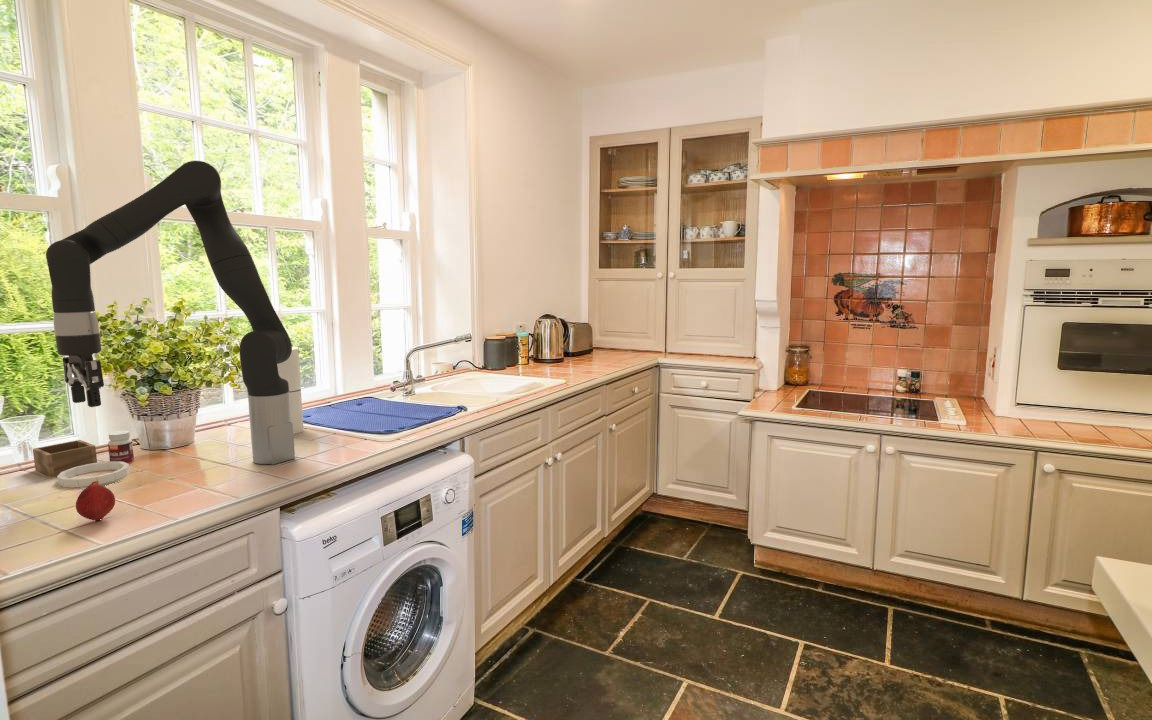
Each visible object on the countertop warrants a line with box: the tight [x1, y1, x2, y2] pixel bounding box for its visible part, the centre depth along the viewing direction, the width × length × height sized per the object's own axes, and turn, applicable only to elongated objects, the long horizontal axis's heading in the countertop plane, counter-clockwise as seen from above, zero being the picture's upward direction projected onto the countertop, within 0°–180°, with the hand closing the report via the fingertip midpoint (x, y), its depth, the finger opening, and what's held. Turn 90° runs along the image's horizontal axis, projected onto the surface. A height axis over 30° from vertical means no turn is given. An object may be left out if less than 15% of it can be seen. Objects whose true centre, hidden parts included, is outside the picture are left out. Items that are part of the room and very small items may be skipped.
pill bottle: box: [107, 430, 135, 465], centre depth 145 cm, size 5×5×8 cm
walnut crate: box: [32, 439, 98, 478], centre depth 141 cm, size 9×9×6 cm
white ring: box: [56, 460, 131, 488], centre depth 135 cm, size 12×12×2 cm
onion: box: [75, 480, 116, 521], centre depth 113 cm, size 6×6×8 cm
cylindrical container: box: [277, 346, 304, 435], centre depth 175 cm, size 7×7×25 cm
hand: (86, 404), depth 133 cm, fingers open, 8 cm apart
